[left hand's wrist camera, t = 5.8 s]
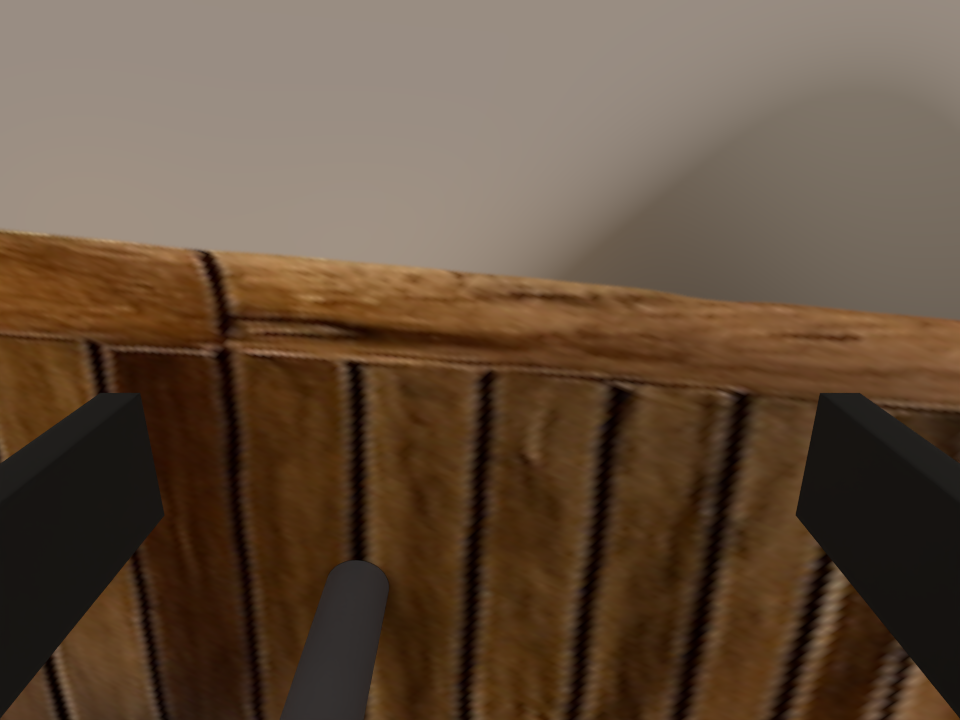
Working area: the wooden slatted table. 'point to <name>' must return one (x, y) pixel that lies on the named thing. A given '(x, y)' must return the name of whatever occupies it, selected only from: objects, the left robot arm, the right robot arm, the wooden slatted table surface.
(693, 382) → the wooden slatted table surface
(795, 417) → the wooden slatted table surface
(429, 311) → the wooden slatted table surface
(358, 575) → the jar
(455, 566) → the wooden slatted table surface
